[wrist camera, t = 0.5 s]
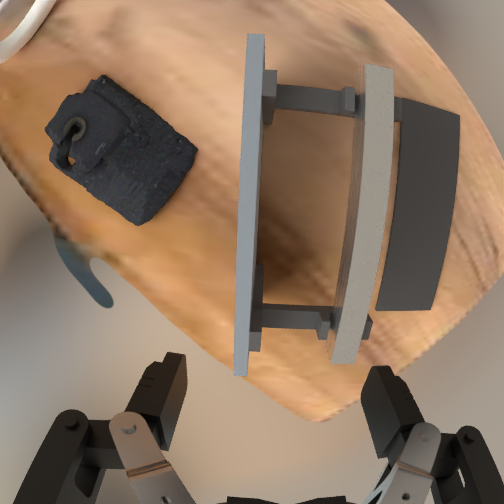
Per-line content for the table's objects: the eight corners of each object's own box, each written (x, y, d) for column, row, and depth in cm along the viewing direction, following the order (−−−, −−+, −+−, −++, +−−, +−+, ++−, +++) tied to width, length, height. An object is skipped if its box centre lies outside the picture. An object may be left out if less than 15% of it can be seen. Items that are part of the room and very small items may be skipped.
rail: (354, 72, 20) (365, 62, 17) (380, 78, 20) (393, 69, 17) (325, 345, 28) (330, 363, 25) (347, 345, 28) (354, 363, 25)
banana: (77, -9, 26) (29, -40, 12) (12, 78, 30) (-46, 70, 16) (65, -15, 25) (19, -43, 11) (4, 68, 30) (-50, 60, 16)
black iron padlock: (142, 240, 39) (127, 250, 34) (46, 153, 35) (27, 154, 31) (208, 150, 35) (200, 149, 30) (97, 68, 31) (80, 60, 27)
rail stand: (255, 85, 32) (247, 33, 16) (355, 95, 31) (412, 59, 16) (245, 298, 40) (233, 375, 25) (334, 302, 40) (366, 377, 25)
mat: (400, 98, 31) (402, 97, 30) (457, 115, 30) (459, 115, 30) (375, 309, 40) (376, 310, 40) (429, 308, 40) (430, 310, 39)
